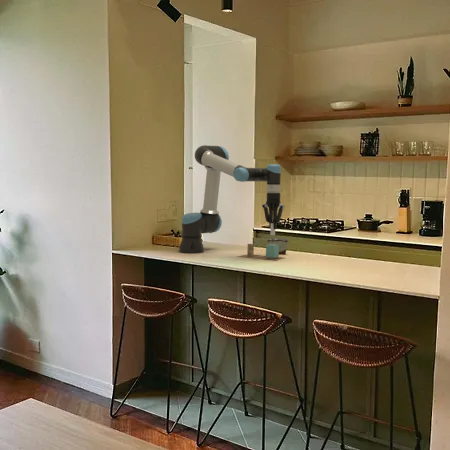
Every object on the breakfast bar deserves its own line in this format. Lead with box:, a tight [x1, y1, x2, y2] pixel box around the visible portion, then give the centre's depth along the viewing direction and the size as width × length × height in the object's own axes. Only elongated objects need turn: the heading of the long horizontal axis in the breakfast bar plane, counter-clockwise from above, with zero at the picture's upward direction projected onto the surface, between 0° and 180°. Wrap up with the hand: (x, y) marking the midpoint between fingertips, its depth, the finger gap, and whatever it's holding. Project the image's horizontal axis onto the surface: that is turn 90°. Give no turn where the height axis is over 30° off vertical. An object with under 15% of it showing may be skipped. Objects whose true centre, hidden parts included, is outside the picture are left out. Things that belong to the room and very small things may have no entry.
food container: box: [267, 237, 289, 256], centre depth 331 cm, size 12×6×10 cm, turn 84°
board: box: [236, 254, 286, 262], centre depth 317 cm, size 25×14×1 cm, turn 57°
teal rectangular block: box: [265, 244, 280, 258], centre depth 313 cm, size 5×5×7 cm
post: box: [246, 243, 255, 257], centre depth 320 cm, size 3×3×7 cm
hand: (272, 234), depth 312 cm, fingers closed
